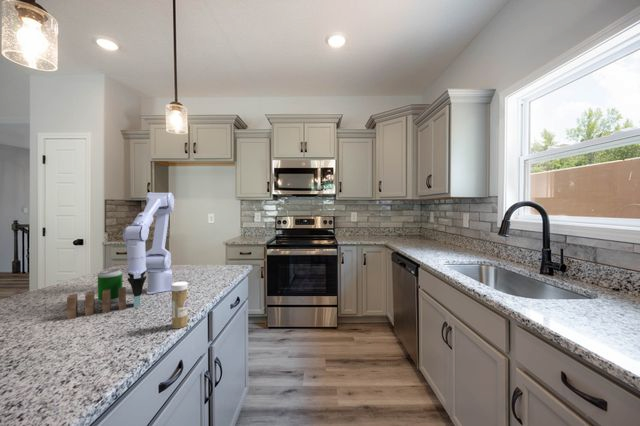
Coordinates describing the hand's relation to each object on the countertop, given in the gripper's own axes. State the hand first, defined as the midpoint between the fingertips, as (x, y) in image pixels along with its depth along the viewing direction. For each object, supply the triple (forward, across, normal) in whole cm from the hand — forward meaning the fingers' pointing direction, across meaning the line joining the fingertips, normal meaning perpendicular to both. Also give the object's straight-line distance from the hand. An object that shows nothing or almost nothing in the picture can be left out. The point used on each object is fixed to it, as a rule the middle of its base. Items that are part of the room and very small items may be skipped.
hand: (137, 293), depth 99 cm
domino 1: (+4, 0, -18) cm, 19 cm away
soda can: (+5, -11, -9) cm, 15 cm away
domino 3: (+4, 0, -9) cm, 10 cm away
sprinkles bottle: (+4, +29, +10) cm, 31 cm away
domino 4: (+4, 0, -5) cm, 6 cm away
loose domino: (+4, 0, 0) cm, 5 cm away
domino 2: (+4, 0, -14) cm, 14 cm away
